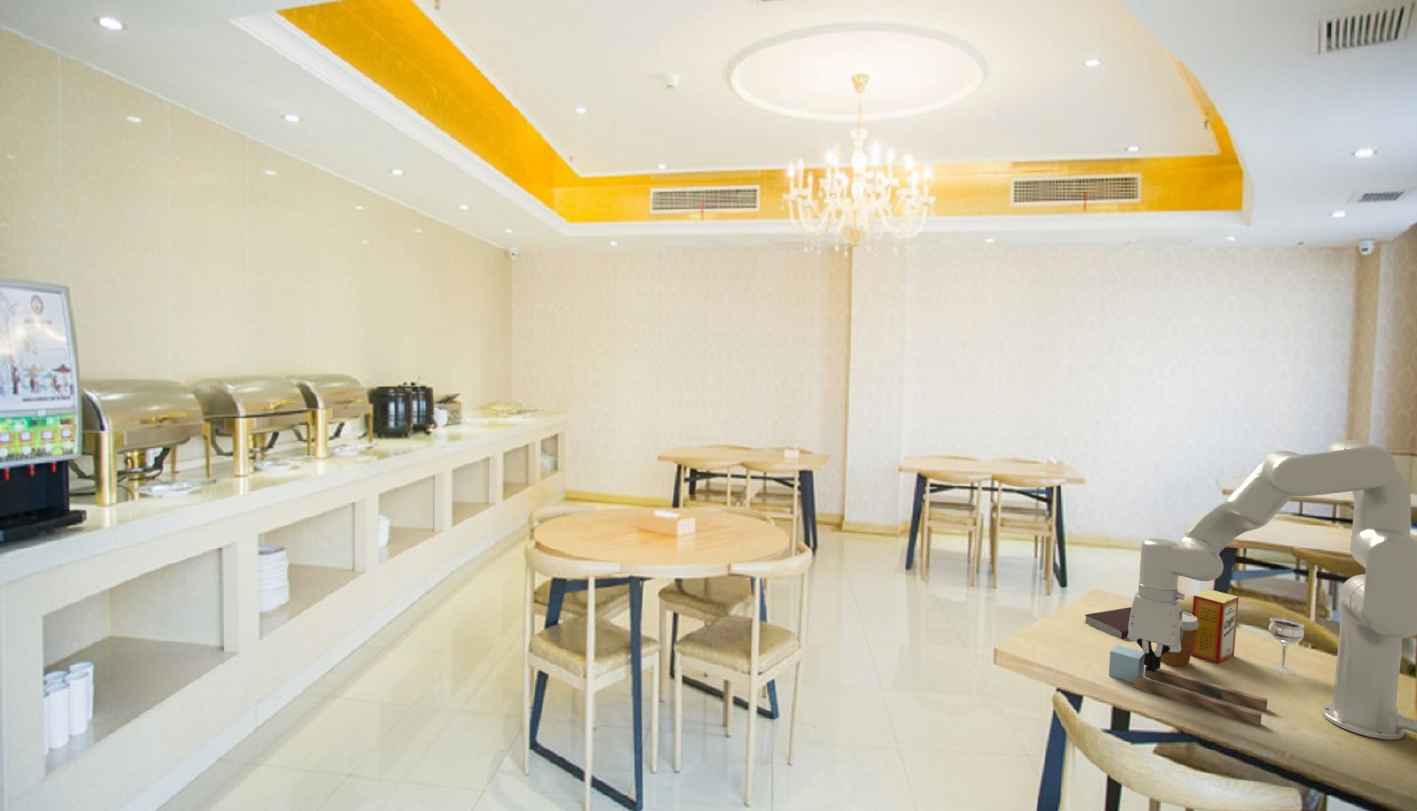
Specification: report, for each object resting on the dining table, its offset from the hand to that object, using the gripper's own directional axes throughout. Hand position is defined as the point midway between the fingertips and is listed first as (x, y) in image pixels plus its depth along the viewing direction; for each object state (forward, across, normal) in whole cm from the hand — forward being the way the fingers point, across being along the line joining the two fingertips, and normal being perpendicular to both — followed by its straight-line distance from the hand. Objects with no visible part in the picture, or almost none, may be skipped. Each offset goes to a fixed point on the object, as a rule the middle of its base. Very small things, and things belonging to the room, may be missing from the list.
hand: (1151, 669), depth 164 cm
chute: (+3, -9, 0) cm, 10 cm away
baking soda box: (+4, -7, -30) cm, 31 cm away
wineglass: (+4, -21, -33) cm, 39 cm away
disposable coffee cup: (+4, -1, -18) cm, 18 cm away
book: (+4, +14, -35) cm, 38 cm away
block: (+3, +5, 0) cm, 6 cm away
